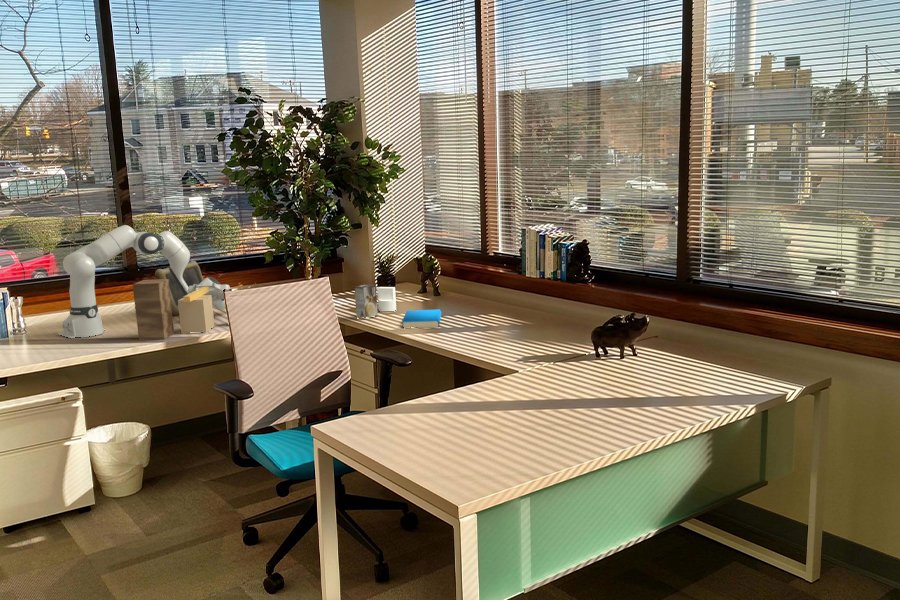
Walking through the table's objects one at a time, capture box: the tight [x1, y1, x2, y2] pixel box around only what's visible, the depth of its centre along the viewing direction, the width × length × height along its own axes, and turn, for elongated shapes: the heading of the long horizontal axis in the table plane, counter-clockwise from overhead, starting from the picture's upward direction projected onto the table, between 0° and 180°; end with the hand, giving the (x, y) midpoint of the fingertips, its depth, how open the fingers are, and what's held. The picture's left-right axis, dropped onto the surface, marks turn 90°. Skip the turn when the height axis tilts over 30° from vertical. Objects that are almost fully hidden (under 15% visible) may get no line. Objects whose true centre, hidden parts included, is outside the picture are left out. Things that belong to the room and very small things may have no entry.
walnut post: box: [132, 279, 175, 341], centre depth 390 cm, size 12×12×26 cm
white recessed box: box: [377, 286, 397, 312], centre depth 430 cm, size 9×9×12 cm
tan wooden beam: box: [183, 287, 209, 302], centre depth 402 cm, size 26×3×2 cm, turn 177°
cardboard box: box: [178, 295, 215, 333], centre depth 401 cm, size 12×12×16 cm
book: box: [402, 309, 442, 329], centre depth 399 cm, size 17×4×25 cm
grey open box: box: [154, 260, 205, 317], centre depth 454 cm, size 33×14×25 cm, turn 165°
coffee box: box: [353, 283, 379, 318], centre depth 414 cm, size 9×6×16 cm
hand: (204, 284), depth 412 cm, fingers open, 8 cm apart
